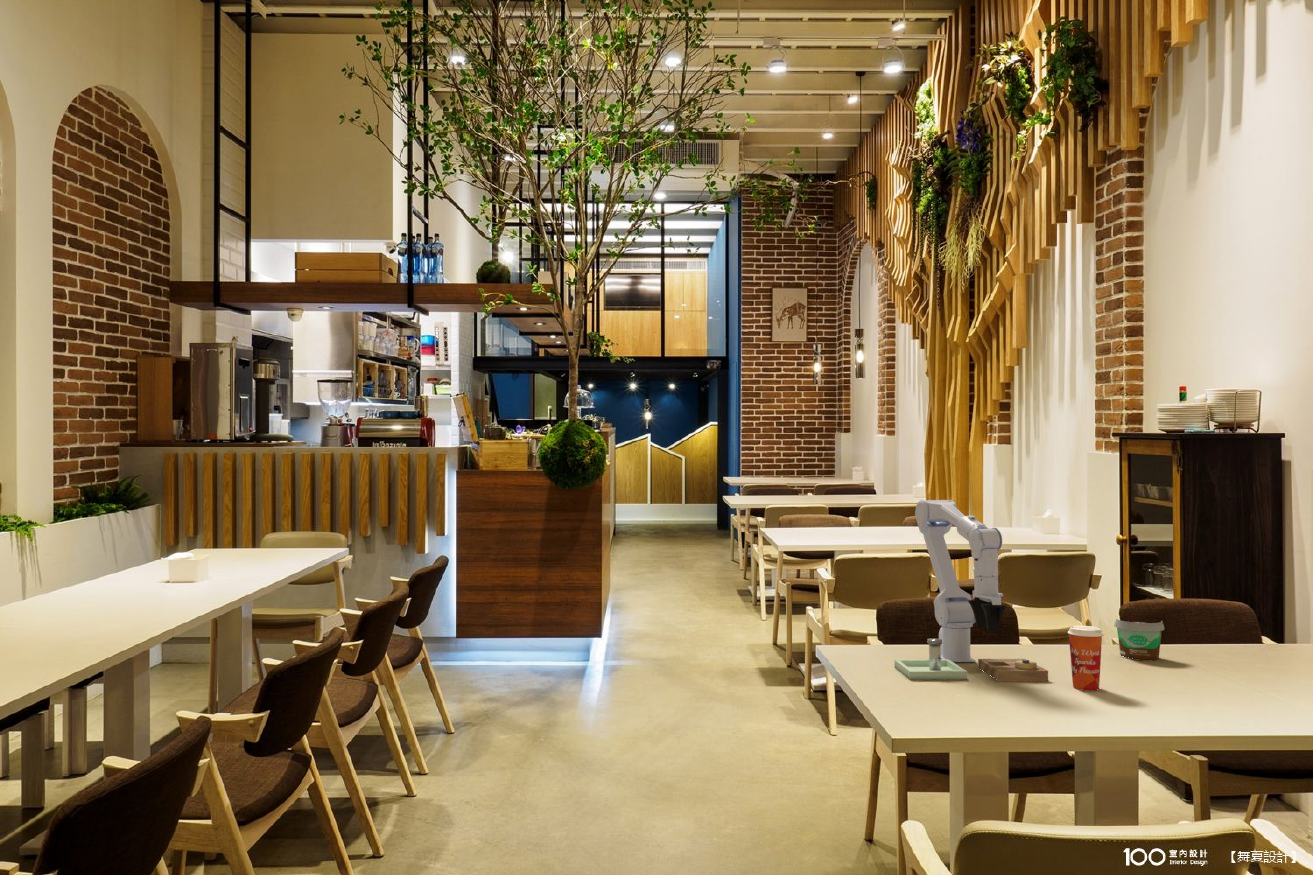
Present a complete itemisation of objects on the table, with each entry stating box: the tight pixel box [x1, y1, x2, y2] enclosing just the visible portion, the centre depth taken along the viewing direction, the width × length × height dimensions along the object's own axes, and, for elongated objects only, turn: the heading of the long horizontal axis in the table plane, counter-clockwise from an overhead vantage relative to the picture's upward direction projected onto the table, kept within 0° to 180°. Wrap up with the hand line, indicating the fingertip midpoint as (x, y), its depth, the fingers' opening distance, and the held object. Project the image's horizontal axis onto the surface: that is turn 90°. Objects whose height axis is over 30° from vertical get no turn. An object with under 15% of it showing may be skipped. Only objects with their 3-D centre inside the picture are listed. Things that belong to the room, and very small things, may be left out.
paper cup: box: [1067, 625, 1105, 691], centre depth 226 cm, size 8×8×14 cm
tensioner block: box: [977, 658, 1049, 682], centre depth 240 cm, size 14×12×4 cm
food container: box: [1113, 618, 1165, 661], centre depth 259 cm, size 12×6×10 cm, turn 73°
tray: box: [894, 658, 968, 681], centre depth 241 cm, size 14×14×2 cm
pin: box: [926, 638, 942, 671], centre depth 241 cm, size 4×4×8 cm
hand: (987, 630), depth 243 cm, fingers open, 7 cm apart
